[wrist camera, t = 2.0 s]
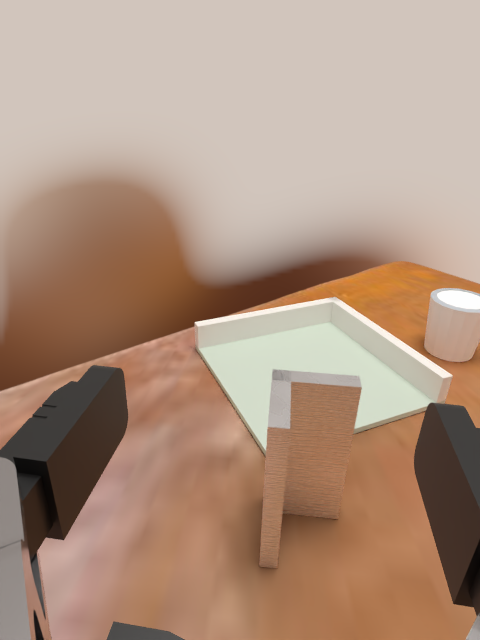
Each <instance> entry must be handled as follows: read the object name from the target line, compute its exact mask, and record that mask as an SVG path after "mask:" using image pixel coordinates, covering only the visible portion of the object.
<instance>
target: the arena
mask: <svg viewBox="0 0 480 640" xmlns="http://www.w3.org/2000/svg"><path fill="white" fill-rule="evenodd" d="M195 344H196V349H197V351H198V353H199V354H200V356H201V357H202V359H203V360H204V362H205V363H206V365H207V366H208V368H209V370H210V371H211V373H212V374H213V376H214V377H215V379H216V380H217V382H218V383H219V385H220V387H221V388H222V390H223V391H224V393H225V394H226V396H227V397H228V399H229V400H230V402H231V404H232V405H233V407H234V408H235V410H236V411H237V413H238V414H239V416H240V417H241V419H242V421H243V422H244V424H245V425H246V427H247V428H248V430H249V431H250V433H251V434H252V436H253V438H254V439H255V441H256V442H257V444H258V445H259V447H260V448H261V450H262V451H263V453H264V455H265V456H266V445H267V428H268V416H269V405H270V393H271V382H272V370H273V369H276V370H289V371H302V372H315V373H327V374H340V375H353V376H359V377H360V381H361V386H362V389H361V395H360V400H359V406H358V411H357V417H356V422H355V428H354V433H353V434H355V433H358V432H361V431H365V430H368V429H371V428H374V427H377V426H380V425H383V424H386V423H389V422H392V421H396V420H399V419H402V418H405V417H408V416H411V415H414V414H417V413H420V412H423V411H426V409H427V406H428V405H429V404H430V403H441V404H445V400H446V397H447V393H448V390H449V387H450V383H451V380H452V377H453V375H451V374H450V373H448V372H447V371H445V370H444V369H442V368H441V367H439V366H438V365H436V364H435V363H433V362H432V361H430V360H429V359H427V358H426V357H424V356H423V355H421V354H420V353H418V352H417V351H415V350H414V349H412V348H411V347H409V346H408V345H406V344H405V343H403V342H402V341H400V340H399V339H397V338H396V337H394V336H393V335H391V334H390V333H388V332H387V331H385V330H384V329H382V328H381V327H380V326H378V325H377V324H375V323H374V322H372V321H371V320H369V319H368V318H366V317H365V316H363V315H362V314H360V313H359V312H357V311H356V310H354V309H353V308H351V307H350V306H348V305H347V304H345V303H344V302H342V301H341V300H339V299H338V298H336V297H332V298H326V299H321V300H315V301H310V302H304V303H299V304H293V305H288V306H282V307H276V308H271V309H265V310H260V311H254V312H249V313H243V314H238V315H232V316H227V317H221V318H216V319H211V320H204V321H199V322H195Z"/></svg>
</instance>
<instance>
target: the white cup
mask: <svg viewBox="0 0 480 640" xmlns="http://www.w3.org/2000/svg"><path fill="white" fill-rule="evenodd" d="M479 341H480V294H478V293H475V292H471V291H468V290H462V289H454V288H444V289H437V290H435V291H433V292H432V293H431V297H430V305H429V312H428V320H427V327H426V334H425V342H424V347H425V349H426V351H427V352H429V353H430V354H431V355H433V356H435V357H437V358H440V359H442V360H447V361H451V362H464V361H468V360H470V359H471V358H472V357H473V355H474V353H475V350H476V348H477V346H478V344H479Z"/></svg>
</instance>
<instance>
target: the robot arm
mask: <svg viewBox="0 0 480 640" xmlns="http://www.w3.org/2000/svg"><path fill="white" fill-rule="evenodd" d="M127 422H128V409H127V400H126V390H125V380H124V373H123V371H122V369H121V368H114V367H105V366H96V365H94V366H91V367H90V368H89V369H88V371H87V372H86V373H85V374H84V375H83V376H82V378H81V379H80V380H79V381H78V382H73V381H71V382H69V383H68V384H66V385H64V386H63V387H61V388H59V389H58V390H56V391H54V392H53V393H52V394H51V396H50V397H49V398H48V399H47V400H46V401H45V402H44V403H43V404H42V407H39V409H38V410H37V411H36V412H35V413H34V414H33V417H32V418H29V419H28V421H27V422H26V423H25V424H24V425H23V426H22V427H21V428H20V429H19V430H18V431H17V433H16V434H15V435H14V436H13V437H12V438H11V439H10V440H9V441H8V442H7V443H6V445H5V446H4V447H3V448H2V449H1V450H0V640H51V634H50V628H49V621H48V614H47V607H46V601H45V594H44V587H43V580H42V573H41V566H40V559H39V554H38V549H39V547H40V546H41V544H42V542H43V541H44V539H45V538H46V537H47V538H53V539H60V540H64V539H65V537H66V535H67V534H68V532H69V530H70V529H71V527H72V525H73V523H74V522H75V520H76V518H77V516H78V515H79V513H80V511H81V509H82V508H83V506H84V504H85V502H86V501H87V499H88V497H89V496H90V494H91V492H92V490H93V489H94V487H95V485H96V483H97V482H98V480H99V478H100V476H101V475H102V473H103V471H104V469H105V468H106V466H107V464H108V462H109V461H110V459H111V457H112V456H113V454H114V452H115V450H116V449H117V447H118V445H119V443H120V442H121V440H122V438H123V436H124V434H125V431H126V428H127ZM414 468H415V474H416V478H417V482H418V485H419V488H420V492H421V495H422V499H423V502H424V505H425V509H426V512H427V516H428V519H429V522H430V526H431V529H432V533H433V536H434V539H435V543H436V546H437V550H438V553H439V557H440V560H441V563H442V567H443V570H444V574H445V577H446V580H447V584H448V587H449V591H450V594H451V597H452V601H453V604H457V605H463V606H469V607H474V609H475V612H476V615H477V618H476V620H475V622H474V624H473V626H472V628H471V630H470V632H469V634H468V636H467V638H466V640H480V428H476V427H475V425H474V423H473V422H472V420H471V418H470V416H469V414H468V412H467V410H466V409H465V407H464V406H459V405H450V404H441V403H430V404H429V405H428V406H427V409H426V412H425V416H424V420H423V423H422V427H421V431H420V434H419V438H418V442H417V445H416V449H415V456H414ZM107 640H184V639H182V638H180V637H179V636H177V635H175V634H173V633H171V632H169V631H163V630H157V629H152V628H146V627H141V626H135V625H130V624H124V623H119V622H113V624H112V627H111V630H110V632H109V635H108V637H107Z"/></svg>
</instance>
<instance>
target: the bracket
mask: <svg viewBox="0 0 480 640" xmlns="http://www.w3.org/2000/svg"><path fill="white" fill-rule="evenodd" d="M361 389H362V386H361V381H360V377H359V376H353V375H340V374H327V373H315V372H302V371H289V370H276V369H273V370H272V382H271V393H270V405H269V416H268V428H267V445H266V462H265V478H264V495H263V512H262V529H261V545H260V562H259V566H260V567H268V568H277V567H278V556H279V545H280V534H281V523H282V513H284V514H293V515H302V516H311V517H320V518H329V519H338V516H339V511H340V505H341V500H342V494H343V489H344V483H345V478H346V472H347V467H348V461H349V456H350V450H351V444H352V439H353V433H354V428H355V422H356V417H357V411H358V406H359V400H360V395H361Z"/></svg>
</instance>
